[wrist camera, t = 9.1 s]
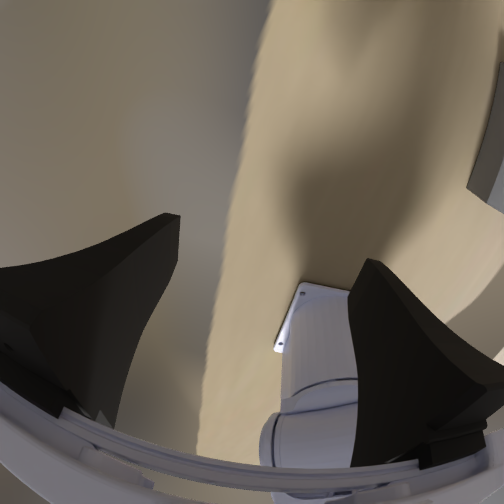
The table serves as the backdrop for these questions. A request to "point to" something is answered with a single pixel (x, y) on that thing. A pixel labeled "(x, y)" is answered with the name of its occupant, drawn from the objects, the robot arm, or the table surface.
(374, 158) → the table surface
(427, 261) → the table surface
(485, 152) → the socket
